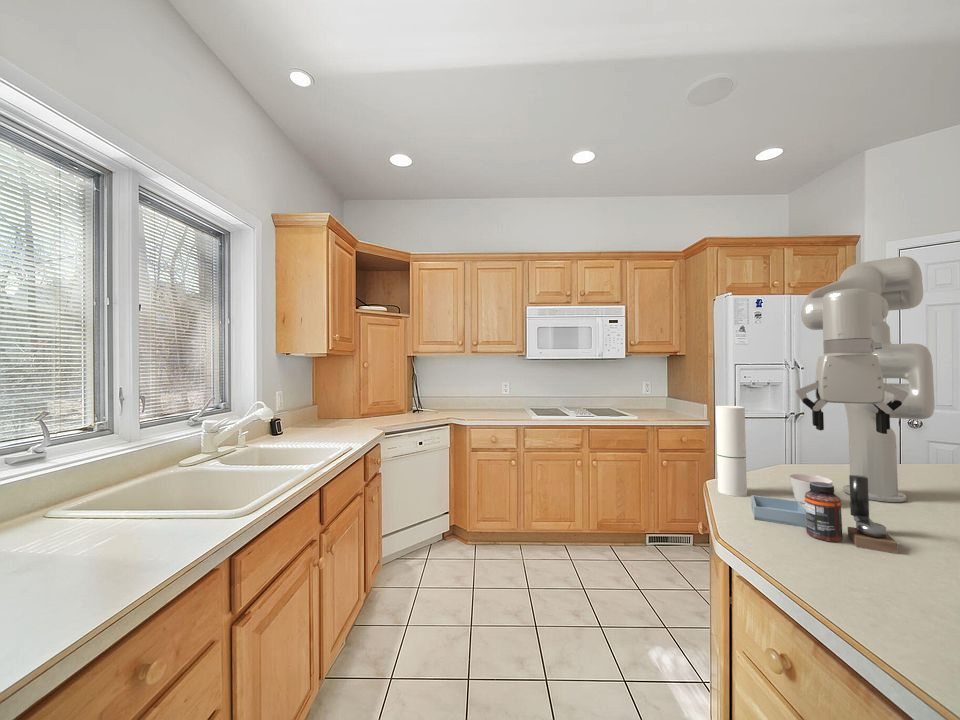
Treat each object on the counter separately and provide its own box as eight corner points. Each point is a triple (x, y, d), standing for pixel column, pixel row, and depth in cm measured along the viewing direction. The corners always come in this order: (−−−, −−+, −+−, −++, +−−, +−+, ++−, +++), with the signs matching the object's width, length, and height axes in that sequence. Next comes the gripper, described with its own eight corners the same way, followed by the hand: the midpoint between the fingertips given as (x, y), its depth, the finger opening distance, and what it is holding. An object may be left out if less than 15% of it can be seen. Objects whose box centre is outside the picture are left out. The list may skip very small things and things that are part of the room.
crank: (890, 538, 78) (888, 490, 78) (859, 534, 80) (858, 486, 80) (871, 519, 88) (869, 476, 88) (844, 516, 90) (843, 473, 90)
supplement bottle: (833, 533, 87) (832, 481, 87) (848, 544, 81) (847, 489, 81) (800, 529, 89) (799, 479, 89) (813, 540, 83) (811, 486, 83)
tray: (751, 506, 103) (751, 495, 103) (800, 513, 98) (799, 501, 98) (754, 519, 95) (754, 506, 95) (807, 527, 90) (807, 514, 90)
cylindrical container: (746, 491, 116) (744, 406, 117) (747, 497, 110) (744, 408, 111) (718, 487, 120) (716, 405, 121) (717, 493, 114) (715, 407, 115)
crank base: (847, 535, 85) (847, 525, 85) (886, 541, 82) (886, 531, 82) (856, 546, 80) (855, 535, 80) (897, 553, 77) (897, 542, 77)
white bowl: (787, 502, 106) (787, 478, 106) (792, 494, 113) (791, 472, 113) (832, 510, 100) (831, 485, 100) (834, 501, 107) (833, 478, 107)
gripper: (897, 348, 81) (900, 432, 81) (791, 351, 90) (793, 426, 89) (913, 346, 75) (917, 437, 74) (798, 349, 83) (800, 430, 83)
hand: (849, 431), depth 82 cm, fingers open, 9 cm apart
